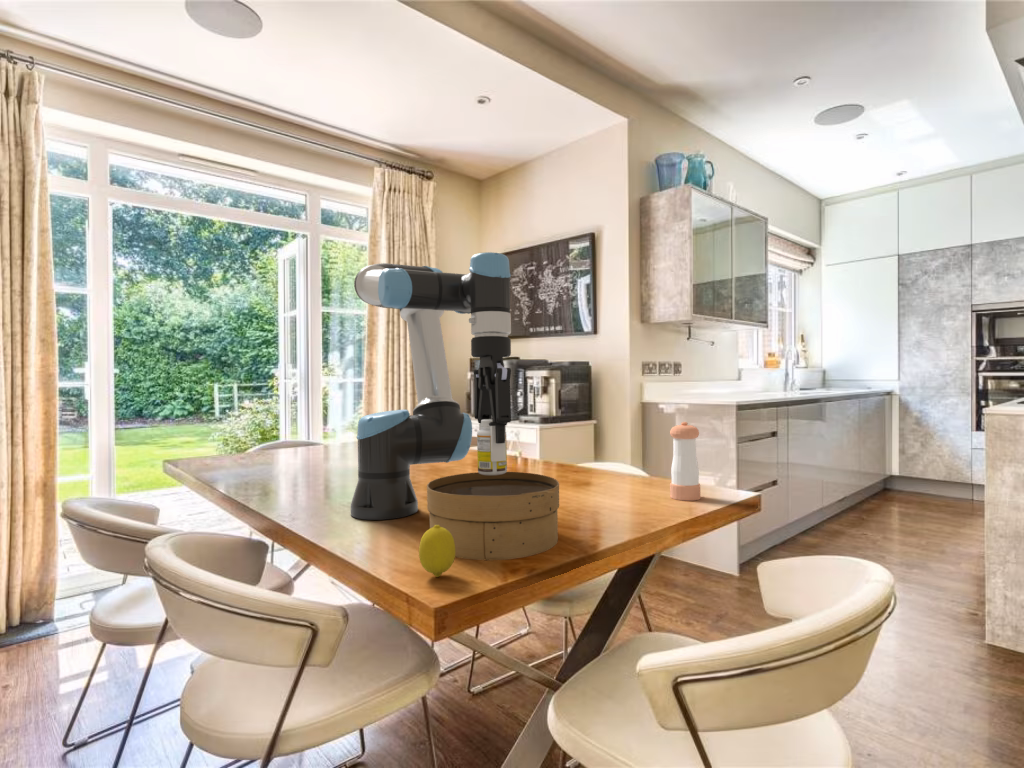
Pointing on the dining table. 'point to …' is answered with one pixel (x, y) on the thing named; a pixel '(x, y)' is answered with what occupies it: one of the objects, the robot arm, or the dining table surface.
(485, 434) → the supplement bottle
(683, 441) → the pepper shaker
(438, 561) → the lemon
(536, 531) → the steamer basket
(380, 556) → the dining table surface
